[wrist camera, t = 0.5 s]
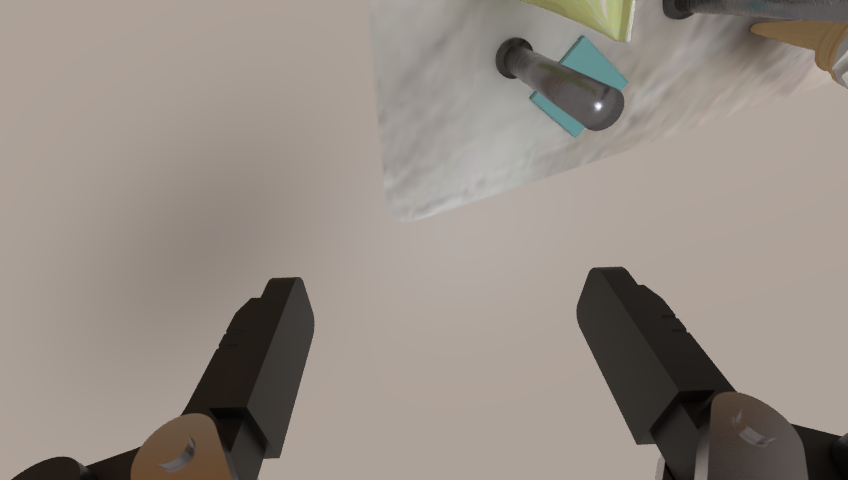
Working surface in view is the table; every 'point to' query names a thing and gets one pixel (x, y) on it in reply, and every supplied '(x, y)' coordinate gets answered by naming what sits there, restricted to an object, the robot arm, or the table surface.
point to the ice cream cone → (814, 42)
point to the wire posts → (604, 102)
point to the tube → (596, 14)
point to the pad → (590, 64)
